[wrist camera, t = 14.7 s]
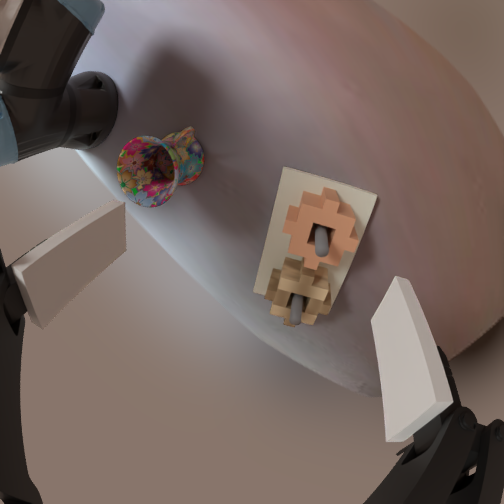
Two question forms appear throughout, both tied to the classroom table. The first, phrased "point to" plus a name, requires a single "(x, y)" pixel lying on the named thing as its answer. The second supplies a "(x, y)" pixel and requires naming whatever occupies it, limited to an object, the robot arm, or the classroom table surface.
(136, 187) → the mug
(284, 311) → the gear
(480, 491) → the robot arm
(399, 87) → the classroom table surface
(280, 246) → the gear board
